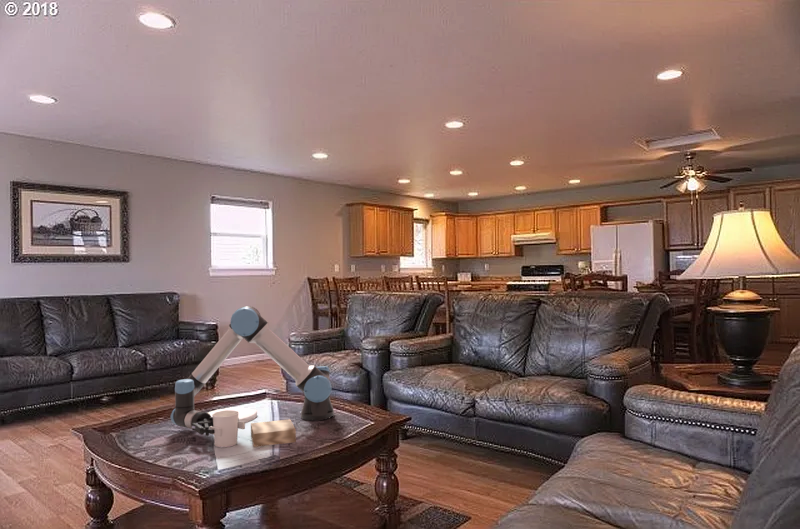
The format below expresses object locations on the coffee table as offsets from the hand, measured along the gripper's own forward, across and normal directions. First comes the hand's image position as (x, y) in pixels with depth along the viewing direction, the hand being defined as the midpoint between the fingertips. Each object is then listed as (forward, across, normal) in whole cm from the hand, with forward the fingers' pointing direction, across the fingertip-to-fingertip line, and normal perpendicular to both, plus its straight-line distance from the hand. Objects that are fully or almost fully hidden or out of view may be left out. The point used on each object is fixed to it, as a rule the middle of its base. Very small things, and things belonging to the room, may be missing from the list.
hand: (232, 429), depth 212 cm
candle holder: (-4, 0, -7) cm, 8 cm away
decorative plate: (-36, -25, -7) cm, 44 cm away
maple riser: (+6, -15, -6) cm, 17 cm away
